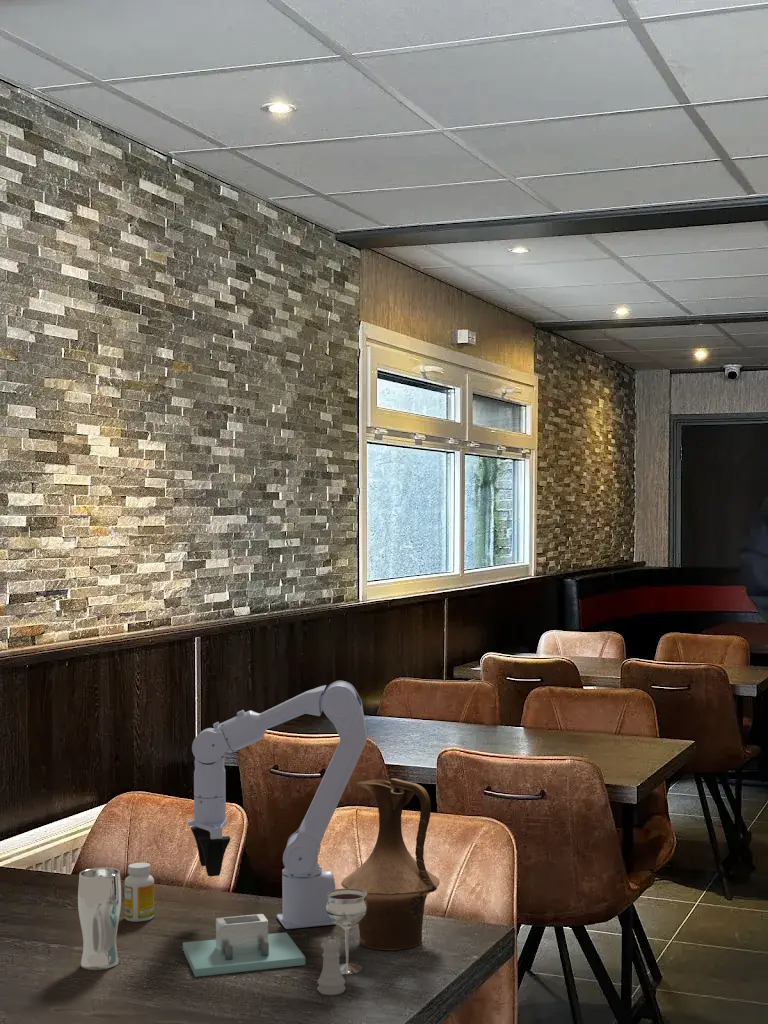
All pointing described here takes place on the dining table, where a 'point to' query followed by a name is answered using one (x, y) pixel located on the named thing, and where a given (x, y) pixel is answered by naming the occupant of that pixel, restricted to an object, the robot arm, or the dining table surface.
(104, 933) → the beer glass
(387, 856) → the pitcher
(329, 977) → the rook chess piece
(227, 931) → the block
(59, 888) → the dining table surface
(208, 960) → the pin tray
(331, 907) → the wineglass
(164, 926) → the dining table surface
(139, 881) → the supplement bottle
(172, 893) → the dining table surface
